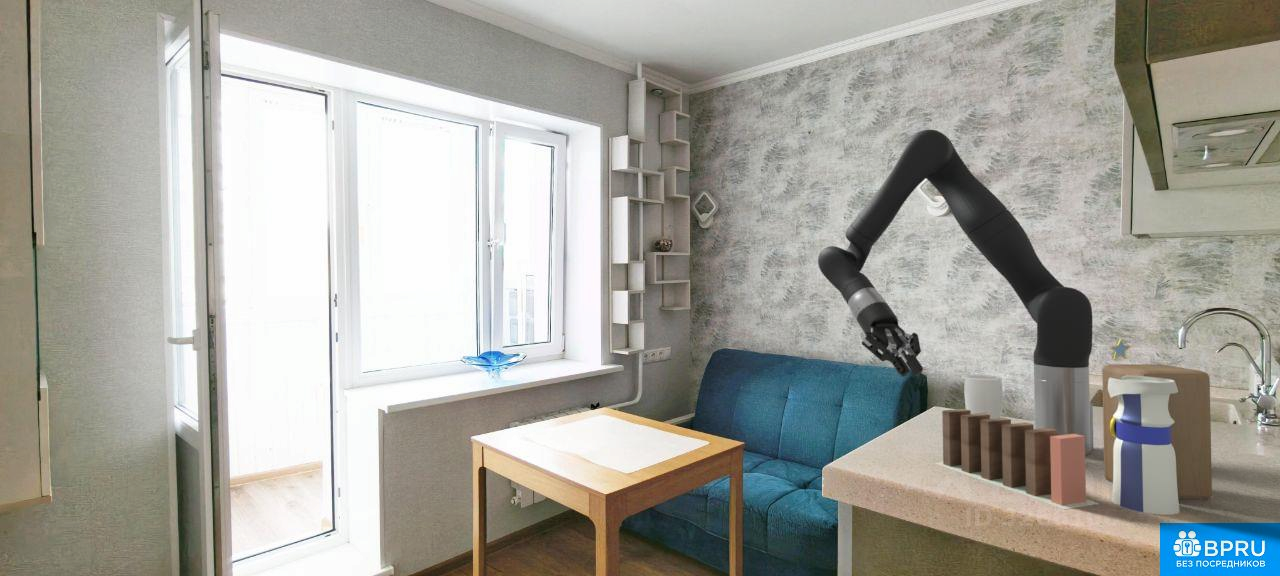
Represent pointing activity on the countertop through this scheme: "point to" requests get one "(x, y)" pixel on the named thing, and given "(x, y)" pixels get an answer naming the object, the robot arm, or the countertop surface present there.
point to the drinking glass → (983, 394)
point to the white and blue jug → (1143, 443)
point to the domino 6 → (1068, 469)
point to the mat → (1019, 489)
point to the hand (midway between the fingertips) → (912, 373)
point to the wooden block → (1185, 431)
